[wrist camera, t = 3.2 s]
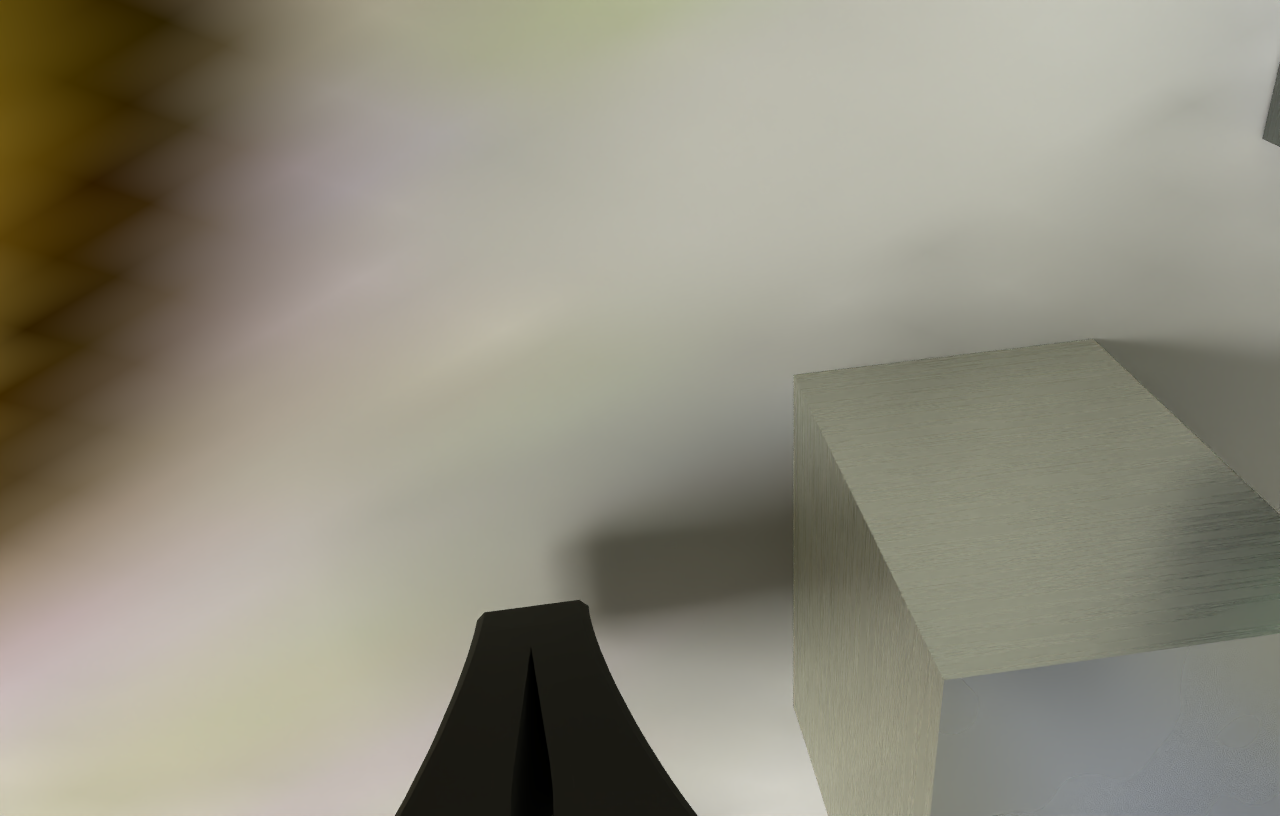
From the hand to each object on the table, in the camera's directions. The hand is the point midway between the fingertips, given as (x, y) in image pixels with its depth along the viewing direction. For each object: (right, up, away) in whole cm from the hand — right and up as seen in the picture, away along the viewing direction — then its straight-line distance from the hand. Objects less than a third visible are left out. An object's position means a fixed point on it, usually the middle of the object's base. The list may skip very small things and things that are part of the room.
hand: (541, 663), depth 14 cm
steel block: (+5, +1, +2) cm, 6 cm away
